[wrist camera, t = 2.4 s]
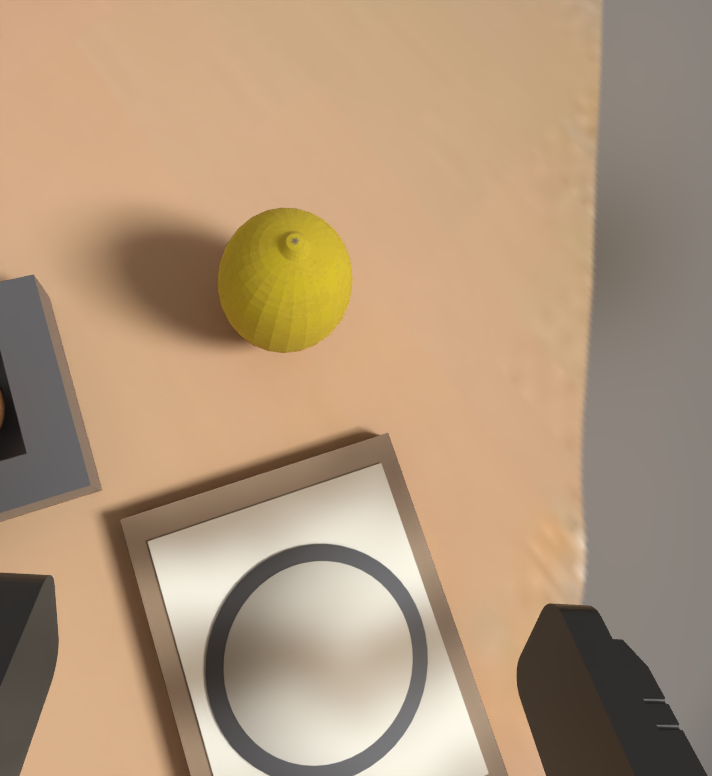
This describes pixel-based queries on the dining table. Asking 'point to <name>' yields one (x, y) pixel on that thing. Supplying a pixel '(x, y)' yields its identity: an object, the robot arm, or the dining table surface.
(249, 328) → the lemon
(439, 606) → the drawing board
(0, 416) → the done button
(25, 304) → the button housing
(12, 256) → the dining table surface
